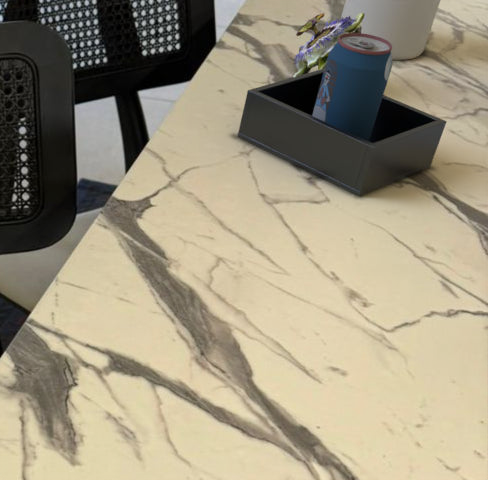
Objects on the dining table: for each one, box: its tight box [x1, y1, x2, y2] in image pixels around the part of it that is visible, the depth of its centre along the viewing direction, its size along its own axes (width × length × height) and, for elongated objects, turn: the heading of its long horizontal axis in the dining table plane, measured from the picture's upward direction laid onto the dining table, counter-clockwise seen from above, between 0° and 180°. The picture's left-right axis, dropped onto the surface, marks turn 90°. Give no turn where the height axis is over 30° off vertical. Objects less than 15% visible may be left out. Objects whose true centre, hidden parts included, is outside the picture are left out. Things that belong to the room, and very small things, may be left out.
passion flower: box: [292, 12, 365, 78], centre depth 132 cm, size 11×11×12 cm
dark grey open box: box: [237, 69, 447, 198], centre depth 117 cm, size 18×14×6 cm
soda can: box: [312, 33, 394, 142], centre depth 115 cm, size 7×7×12 cm
